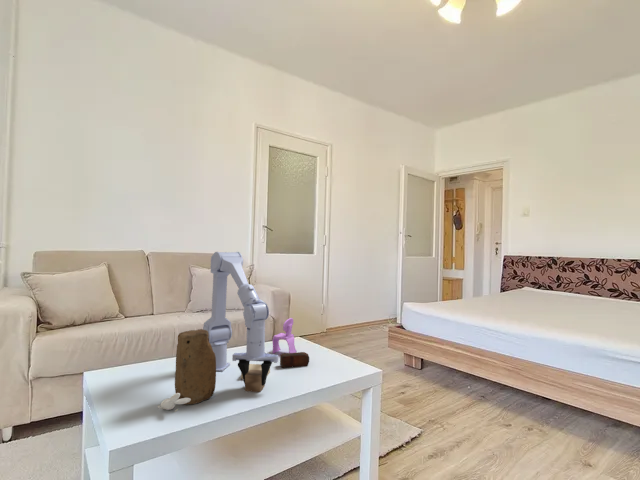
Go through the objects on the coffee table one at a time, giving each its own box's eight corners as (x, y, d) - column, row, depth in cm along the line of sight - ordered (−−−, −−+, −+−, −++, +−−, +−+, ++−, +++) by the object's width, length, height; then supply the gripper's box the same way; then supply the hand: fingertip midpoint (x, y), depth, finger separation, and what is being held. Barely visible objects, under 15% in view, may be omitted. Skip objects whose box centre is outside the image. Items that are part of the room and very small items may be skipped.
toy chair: (280, 348, 155) (280, 315, 155) (297, 351, 151) (298, 316, 152) (270, 354, 147) (270, 318, 148) (288, 356, 144) (289, 320, 144)
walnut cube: (244, 391, 109) (245, 375, 109) (249, 385, 114) (250, 369, 114) (260, 392, 108) (260, 375, 108) (264, 385, 113) (265, 370, 113)
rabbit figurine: (167, 405, 99) (192, 393, 98) (167, 419, 96) (193, 407, 96) (152, 401, 94) (179, 388, 94) (153, 415, 91) (180, 403, 91)
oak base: (241, 380, 119) (241, 371, 119) (248, 372, 126) (248, 363, 127) (263, 381, 118) (264, 372, 118) (270, 373, 126) (270, 364, 126)
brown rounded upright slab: (178, 408, 96) (180, 336, 97) (173, 398, 103) (174, 330, 103) (217, 399, 102) (218, 331, 103) (210, 390, 109) (211, 326, 109)
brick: (282, 369, 129) (282, 356, 129) (279, 365, 133) (280, 353, 133) (309, 366, 133) (309, 353, 133) (306, 363, 137) (306, 351, 137)
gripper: (229, 343, 108) (228, 387, 108) (274, 345, 106) (274, 390, 106) (237, 337, 115) (236, 379, 115) (280, 339, 113) (279, 381, 113)
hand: (255, 383), depth 111 cm, fingers closed on walnut cube, 5 cm apart
